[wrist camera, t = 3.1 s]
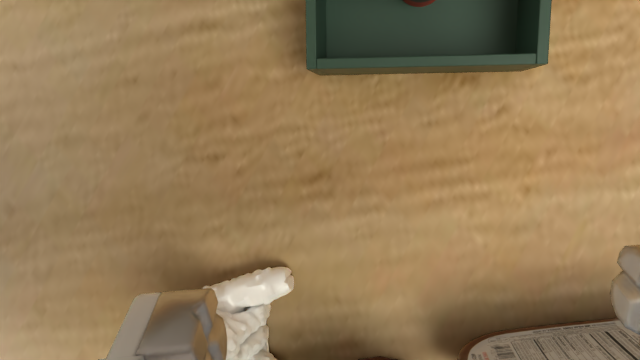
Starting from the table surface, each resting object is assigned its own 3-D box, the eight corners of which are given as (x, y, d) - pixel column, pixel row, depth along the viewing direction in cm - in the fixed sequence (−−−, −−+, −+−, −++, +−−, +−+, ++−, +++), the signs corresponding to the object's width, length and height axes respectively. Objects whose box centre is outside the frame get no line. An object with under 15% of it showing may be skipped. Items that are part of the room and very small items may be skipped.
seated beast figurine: (290, 383, 36) (241, 517, 24) (182, 367, 37) (86, 487, 25) (296, 264, 34) (248, 345, 23) (184, 252, 36) (84, 322, 24)
